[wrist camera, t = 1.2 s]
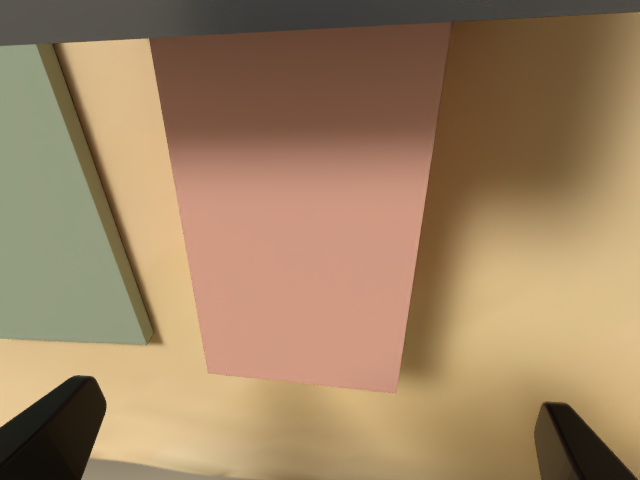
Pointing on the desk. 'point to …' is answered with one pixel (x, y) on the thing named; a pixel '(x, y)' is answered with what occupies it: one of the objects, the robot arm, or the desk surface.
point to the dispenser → (256, 16)
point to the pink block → (303, 192)
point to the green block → (56, 217)
